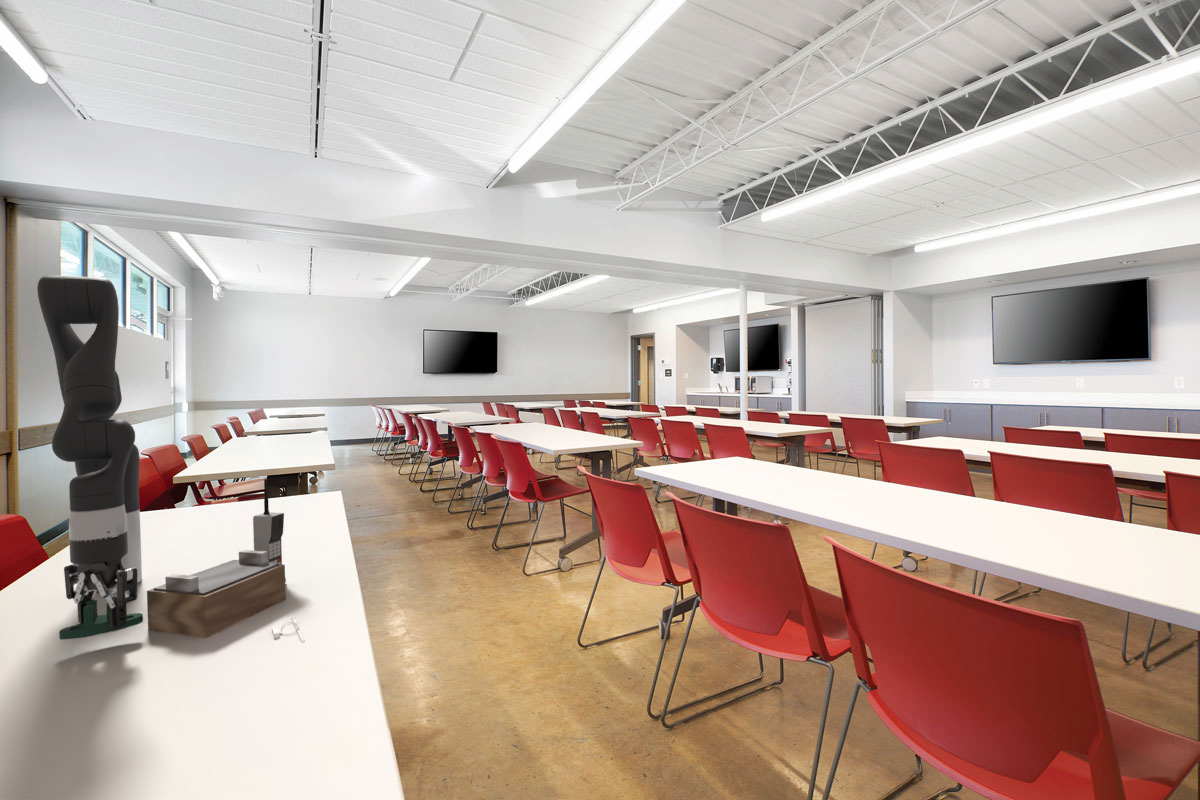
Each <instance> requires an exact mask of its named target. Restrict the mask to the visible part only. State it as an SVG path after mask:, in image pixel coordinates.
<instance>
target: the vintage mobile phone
mask: <svg viewBox="0 0 1200 800" xmlns="http://www.w3.org/2000/svg"><path fill="white" fill-rule="evenodd" d="M263 481H264V482H263V485H264V487H263V488H264V489H263V490H264V492H263V493H264V499H263V504H264V505H263V506H264V511H263V512H262V513H259V514H256V515H254V516H253V517H252V526H253V529H252V531H253V550H254V551H267V561H268V562H269V563H279V564H282V565H283V555H282V554H283V553H282V536H283V534H284V524H285V523H284V521H285V513H284V512H270V511H269V497H268V479H267V478H264V479H263ZM286 583H287V578H286V577H285V584H286Z"/></svg>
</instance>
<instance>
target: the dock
mask: <svg viewBox="0 0 1200 800" xmlns="http://www.w3.org/2000/svg"><path fill="white" fill-rule="evenodd" d="M285 566H286V565H285V564H283V563H282V564H279V563H269V562H268V561H267V551H254V549H253V550H252V549H251V550H250V549H243V550H240V551H238V559H231V560H229V561H226V562H224V563H221V564H217V565H215V566H212V567H209V568H207V569H204V570H201V571H199V572H196V573H192V574H190V575H189V574H188V575H186V574H175V573H173V574H169V575H167V576H165V583H164V584H162V585H158V586H155V587H154V588H151V589H148V590H146V603H147V604H146V605H147V607H146V608H147V609H146V610H147V631H150V632H159V633H167V634H175V635H182V636H183V635H184V636H192V637H199V638H209V637H211V636H213V635H216V634H217V633H219V632H221V631H223V630H225V629H228V628H230V627H231V626H234V625H236V624H238V623H240V622H242V621H244V620H246V619H248V618H250V617H252V616H254V615H257V614H259V613H261V612H263V611H265V610H266V609H268V608H271V607H272V606H274V605H277V604H279V603H281V602H283V601H285V600H287V598H286V583H285V578H286V567H285Z"/></svg>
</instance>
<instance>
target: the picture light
mask: <svg viewBox="0 0 1200 800" xmlns="http://www.w3.org/2000/svg"><path fill="white" fill-rule="evenodd" d="M287 625H293V626H294V627H293V628H294V629H295V631H296V634H297V636H298V638H299V641H300V643H301V644H304V643H305V642H306V641H305V638H304V637H303V635H302V632H301V629H300V627H299V625H298V621H297V620H296V617H294V616H291V621H288V622H285V623H284V624H283V625H282V626H281V627H280V630H279V629H278V627H273V628H272V629H271V632H273V637H274V638H273V640H277V639H279V638H280V636H281V635H282V634H283V630H284V629H285V628H286V626H287Z"/></svg>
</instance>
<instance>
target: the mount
mask: <svg viewBox="0 0 1200 800" xmlns="http://www.w3.org/2000/svg"><path fill="white" fill-rule="evenodd" d="M114 597H115V600H117V595H114ZM109 608H110V606H109V604H108V602H107V601H106V613H105V614H100V615H99V614H98V600H97V599H94V600H93V601H87V603H86V606H84V609H83V619H84V623H78V624H74V625H71V626H66V627H64V628H61V629H59V631H58V634H59V635H58V636H59V640H65V641H66V640H73V639H74V640H75V639H80V638H81V639H82V638H88V637H92V636H97V635H98V636H99V635H102V634H107V633H111V632H116V631H121V630H124V629H126V628H129V627H134V626H136V625H139V624H141V623H143V622H144V614H143V613H141V612H135V613H127V620H126V624H125V625H123V626H120V627H118V628H115V629H114V628H110V622H109Z"/></svg>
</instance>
